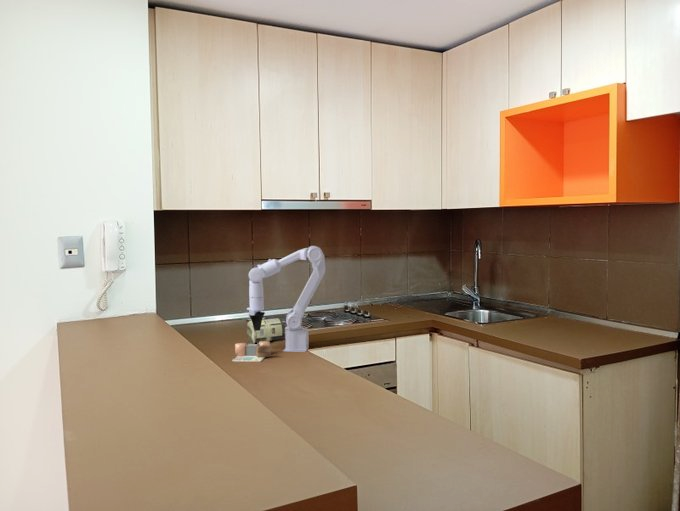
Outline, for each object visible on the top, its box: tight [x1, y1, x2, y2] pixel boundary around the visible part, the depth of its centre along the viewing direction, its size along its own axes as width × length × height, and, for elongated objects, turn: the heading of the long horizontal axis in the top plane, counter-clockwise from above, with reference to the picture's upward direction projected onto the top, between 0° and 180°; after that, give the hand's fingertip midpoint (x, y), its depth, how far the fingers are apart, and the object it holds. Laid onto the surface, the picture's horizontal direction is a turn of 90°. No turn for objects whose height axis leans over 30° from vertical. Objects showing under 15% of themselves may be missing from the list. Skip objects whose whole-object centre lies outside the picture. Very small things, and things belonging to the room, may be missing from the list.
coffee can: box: [246, 317, 285, 344], centre depth 239 cm, size 10×10×14 cm
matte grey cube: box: [246, 343, 259, 356], centre depth 214 cm, size 4×4×4 cm
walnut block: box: [256, 344, 272, 358], centre depth 211 cm, size 5×3×4 cm, turn 113°
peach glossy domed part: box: [234, 342, 247, 357], centre depth 213 cm, size 4×4×4 cm
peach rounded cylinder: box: [258, 341, 271, 346], centre depth 216 cm, size 4×4×4 cm
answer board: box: [231, 356, 266, 363], centre depth 212 cm, size 11×14×1 cm
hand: (257, 330), depth 221 cm, fingers closed
